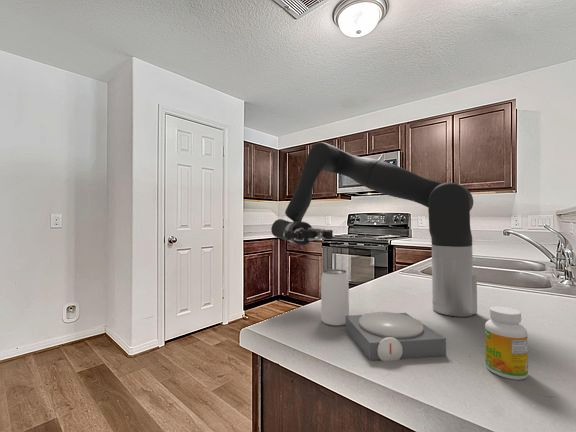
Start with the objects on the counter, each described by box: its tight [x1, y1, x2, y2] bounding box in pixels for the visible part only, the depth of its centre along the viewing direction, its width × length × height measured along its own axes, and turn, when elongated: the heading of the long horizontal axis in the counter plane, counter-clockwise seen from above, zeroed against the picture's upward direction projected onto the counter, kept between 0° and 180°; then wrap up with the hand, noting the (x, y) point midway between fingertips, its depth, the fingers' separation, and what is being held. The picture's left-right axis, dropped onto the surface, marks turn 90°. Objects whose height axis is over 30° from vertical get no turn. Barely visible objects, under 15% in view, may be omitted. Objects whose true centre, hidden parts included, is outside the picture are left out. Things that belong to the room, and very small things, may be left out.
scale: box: [345, 311, 447, 362], centre depth 57 cm, size 14×15×4 cm
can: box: [320, 268, 350, 327], centre depth 68 cm, size 6×6×12 cm
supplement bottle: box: [484, 305, 529, 381], centre depth 46 cm, size 5×5×10 cm
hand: (316, 235), depth 79 cm, fingers open, 8 cm apart
